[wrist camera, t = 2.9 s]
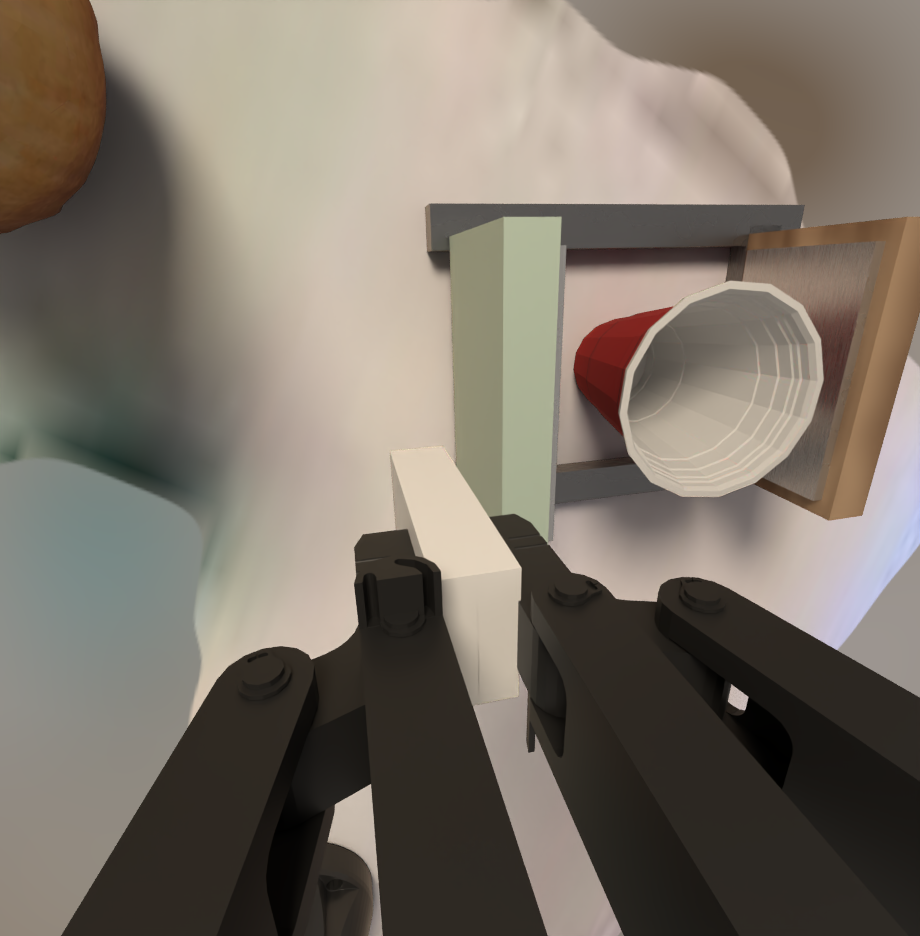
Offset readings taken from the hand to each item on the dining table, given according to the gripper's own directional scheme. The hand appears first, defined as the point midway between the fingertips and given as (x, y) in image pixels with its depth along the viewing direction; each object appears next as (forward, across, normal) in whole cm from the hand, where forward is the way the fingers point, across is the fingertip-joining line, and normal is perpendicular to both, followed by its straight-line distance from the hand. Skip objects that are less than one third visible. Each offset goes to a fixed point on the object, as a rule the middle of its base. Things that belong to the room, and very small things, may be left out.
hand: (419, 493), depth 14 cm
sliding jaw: (+18, -6, 0) cm, 19 cm away
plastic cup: (+20, -16, 0) cm, 26 cm away
